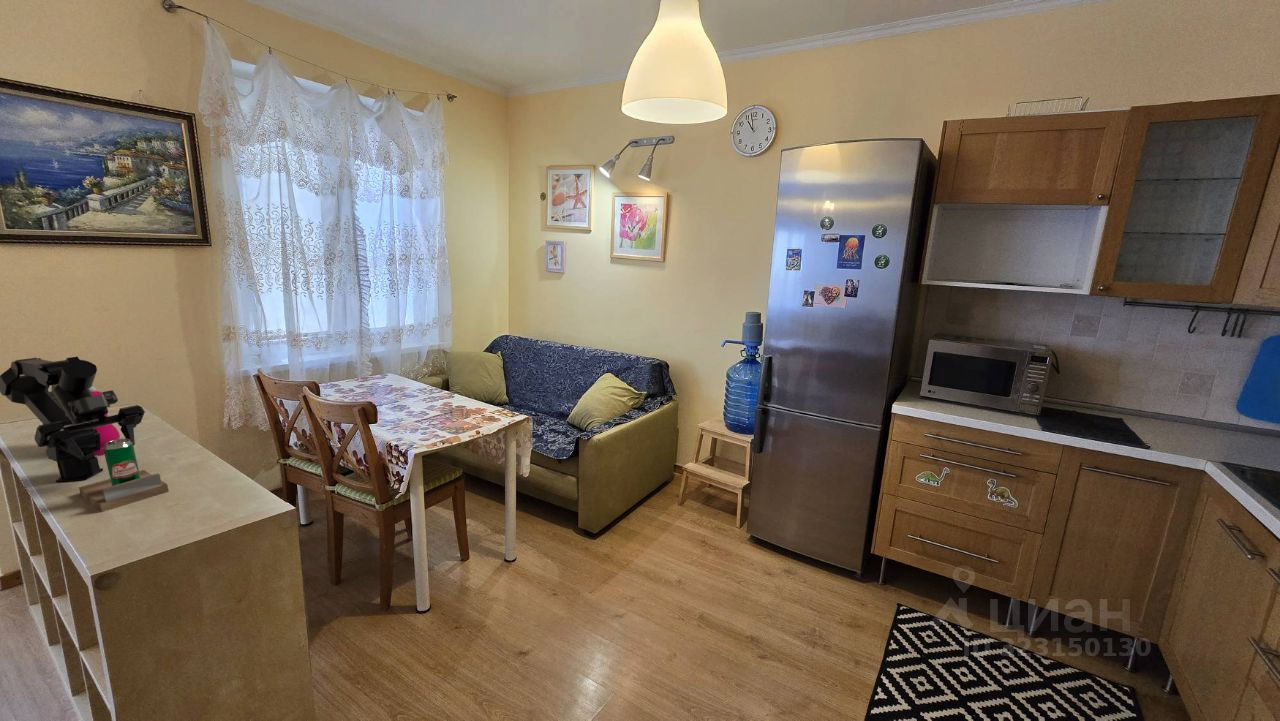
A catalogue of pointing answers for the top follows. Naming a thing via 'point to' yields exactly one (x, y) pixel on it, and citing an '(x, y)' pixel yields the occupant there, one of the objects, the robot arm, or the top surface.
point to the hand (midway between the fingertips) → (109, 451)
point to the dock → (123, 491)
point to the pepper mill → (104, 429)
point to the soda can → (121, 461)
